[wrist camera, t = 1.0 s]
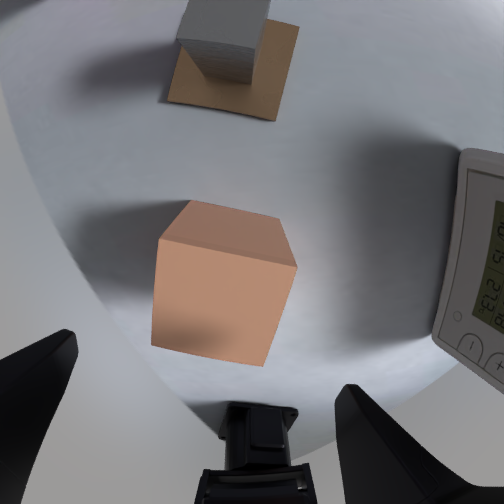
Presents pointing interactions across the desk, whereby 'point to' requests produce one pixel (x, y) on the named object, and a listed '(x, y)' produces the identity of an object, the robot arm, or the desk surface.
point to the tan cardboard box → (221, 283)
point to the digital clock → (475, 270)
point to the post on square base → (232, 57)
